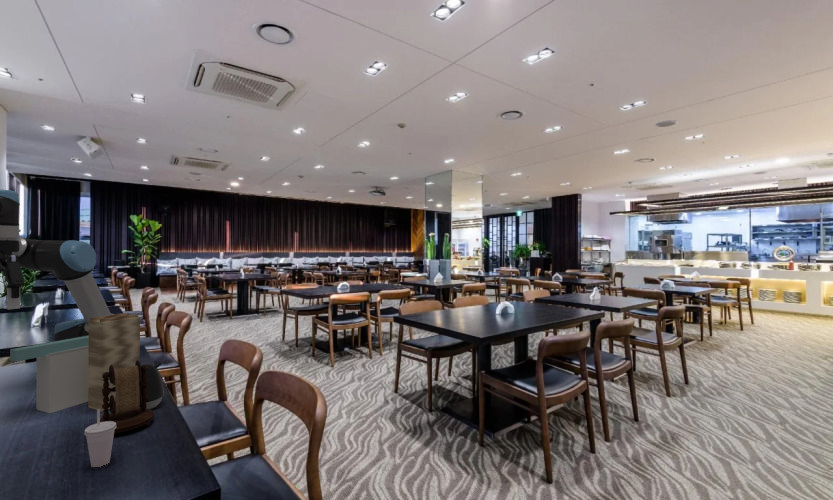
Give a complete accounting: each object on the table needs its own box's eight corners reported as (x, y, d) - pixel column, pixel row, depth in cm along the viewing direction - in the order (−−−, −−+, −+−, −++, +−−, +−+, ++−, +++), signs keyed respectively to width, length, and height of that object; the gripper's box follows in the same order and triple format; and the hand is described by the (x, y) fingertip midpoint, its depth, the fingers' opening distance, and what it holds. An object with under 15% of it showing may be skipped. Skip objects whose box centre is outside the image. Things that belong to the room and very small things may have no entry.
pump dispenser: (171, 404, 137) (171, 361, 137) (141, 416, 127) (142, 370, 127) (150, 400, 141) (150, 358, 141) (120, 411, 131) (120, 366, 131)
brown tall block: (102, 411, 131) (102, 319, 130) (88, 407, 134) (88, 317, 133) (139, 398, 142) (140, 314, 141) (125, 395, 145) (126, 312, 145)
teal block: (15, 361, 122) (15, 350, 122) (10, 360, 124) (10, 349, 124) (95, 345, 143) (96, 336, 143) (90, 344, 144) (90, 335, 144)
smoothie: (96, 457, 102) (96, 404, 102) (122, 456, 103) (122, 404, 103) (77, 471, 96) (77, 415, 96) (104, 470, 97) (105, 414, 96)
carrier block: (49, 413, 129) (49, 354, 128) (36, 409, 132) (36, 351, 132) (103, 396, 143) (104, 343, 143) (90, 393, 146) (91, 340, 146)
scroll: (100, 443, 109) (100, 373, 109) (89, 427, 119) (89, 362, 119) (160, 426, 121) (160, 362, 121) (146, 412, 130) (146, 353, 130)
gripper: (39, 239, 120) (39, 308, 120) (-2, 239, 129) (-1, 302, 130) (6, 239, 113) (6, 312, 113) (-35, 239, 122) (-34, 305, 123)
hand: (2, 307), depth 121 cm, fingers open, 13 cm apart
